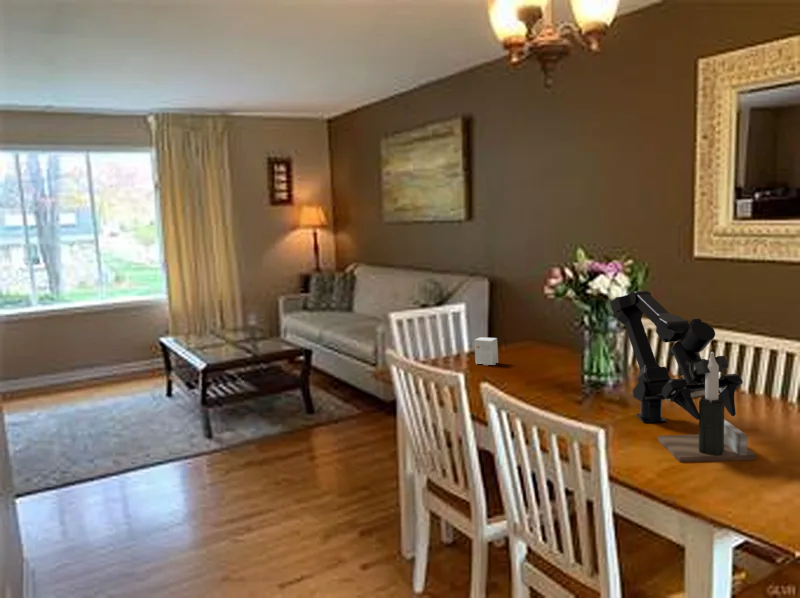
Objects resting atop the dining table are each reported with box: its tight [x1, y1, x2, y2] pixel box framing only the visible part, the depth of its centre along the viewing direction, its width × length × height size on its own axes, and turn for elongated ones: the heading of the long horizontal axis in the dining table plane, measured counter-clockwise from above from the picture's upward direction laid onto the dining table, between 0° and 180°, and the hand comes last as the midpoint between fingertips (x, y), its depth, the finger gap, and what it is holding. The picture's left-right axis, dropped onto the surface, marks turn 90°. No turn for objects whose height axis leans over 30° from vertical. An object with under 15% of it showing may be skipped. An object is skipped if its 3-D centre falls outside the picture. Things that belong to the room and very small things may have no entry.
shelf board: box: [657, 418, 757, 463], centre depth 152 cm, size 14×18×6 cm
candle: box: [698, 351, 725, 456], centre depth 146 cm, size 5×5×25 cm
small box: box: [474, 336, 499, 366], centre depth 247 cm, size 8×6×10 cm
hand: (716, 417), depth 145 cm, fingers open, 9 cm apart
